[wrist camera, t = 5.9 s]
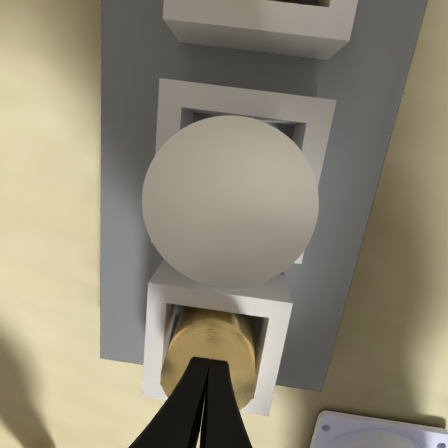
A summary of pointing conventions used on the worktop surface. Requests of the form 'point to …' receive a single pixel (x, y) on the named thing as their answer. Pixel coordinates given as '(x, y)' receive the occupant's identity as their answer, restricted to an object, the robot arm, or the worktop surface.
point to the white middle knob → (230, 201)
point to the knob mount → (263, 111)
